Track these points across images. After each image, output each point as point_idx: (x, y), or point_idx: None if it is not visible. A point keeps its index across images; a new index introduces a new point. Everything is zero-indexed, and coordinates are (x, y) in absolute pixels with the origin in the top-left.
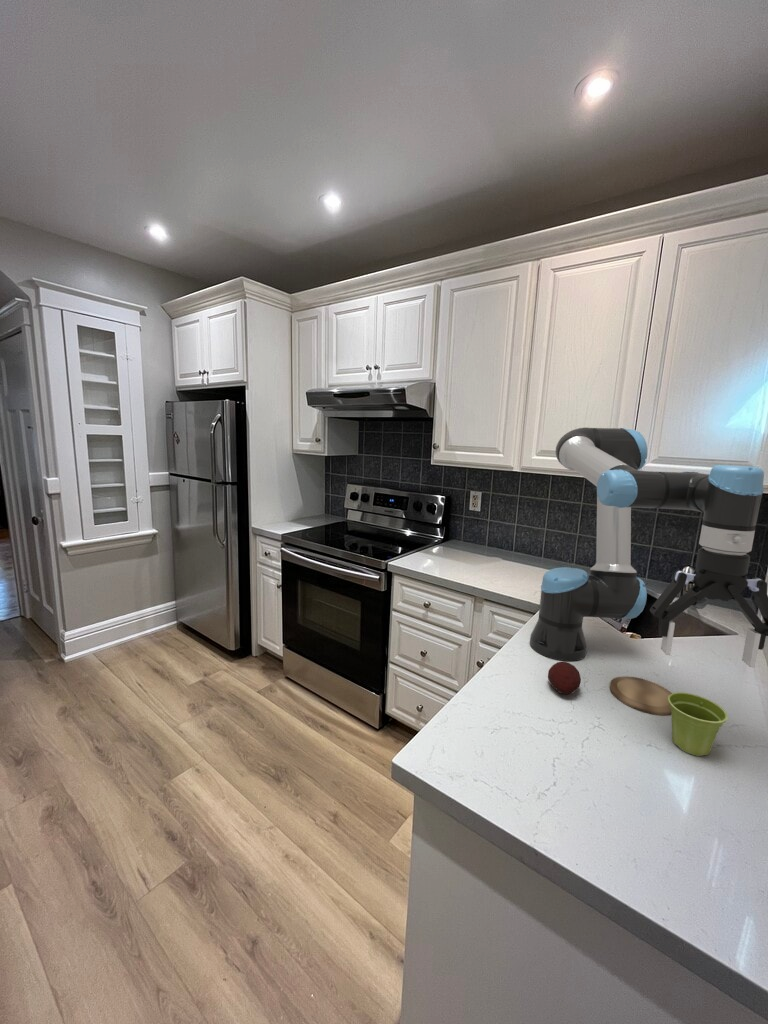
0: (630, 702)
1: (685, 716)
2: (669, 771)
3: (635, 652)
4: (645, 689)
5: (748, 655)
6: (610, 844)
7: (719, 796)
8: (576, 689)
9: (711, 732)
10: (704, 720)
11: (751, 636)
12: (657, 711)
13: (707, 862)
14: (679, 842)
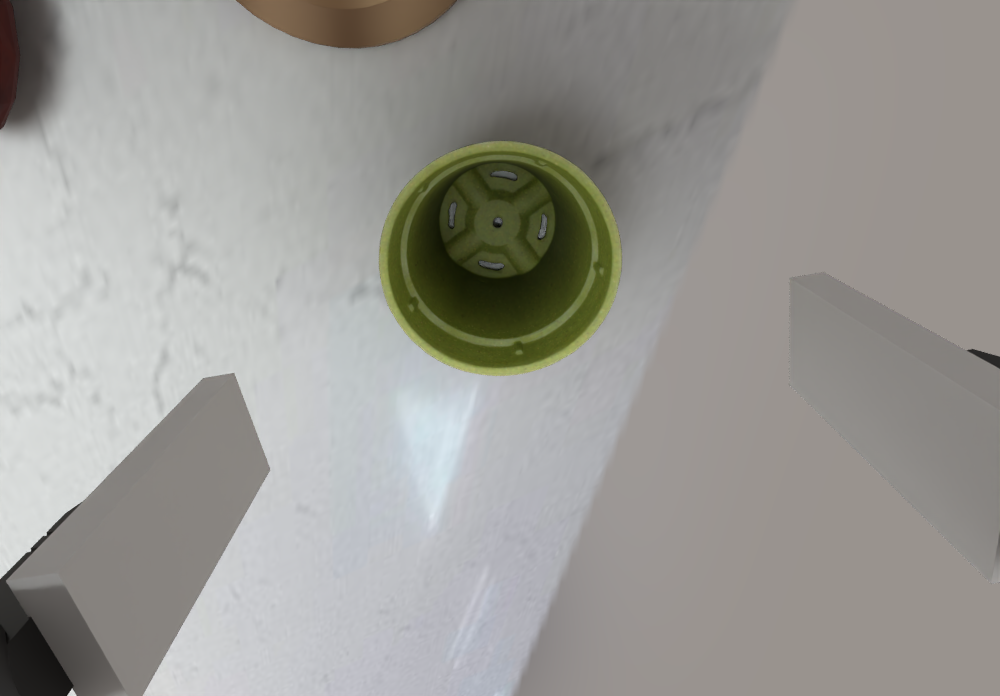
0: (275, 24)
1: (443, 347)
2: (412, 396)
3: None
4: None
5: (827, 383)
6: (281, 667)
7: (529, 434)
8: (15, 80)
9: (544, 318)
10: (508, 371)
11: (951, 476)
12: (394, 39)
13: (456, 628)
14: (410, 609)
